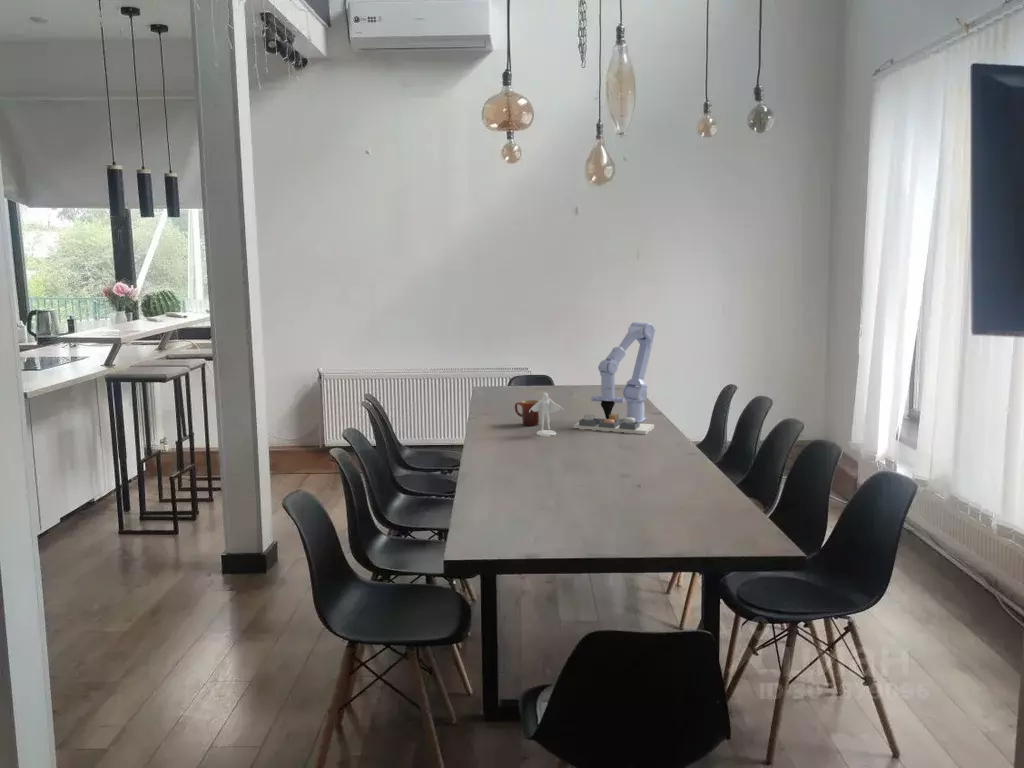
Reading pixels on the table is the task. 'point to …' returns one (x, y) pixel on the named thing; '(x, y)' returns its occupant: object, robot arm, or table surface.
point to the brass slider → (614, 416)
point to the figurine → (546, 412)
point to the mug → (527, 417)
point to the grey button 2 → (629, 420)
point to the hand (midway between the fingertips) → (607, 418)
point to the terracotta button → (609, 421)
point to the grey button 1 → (589, 417)
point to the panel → (614, 426)
